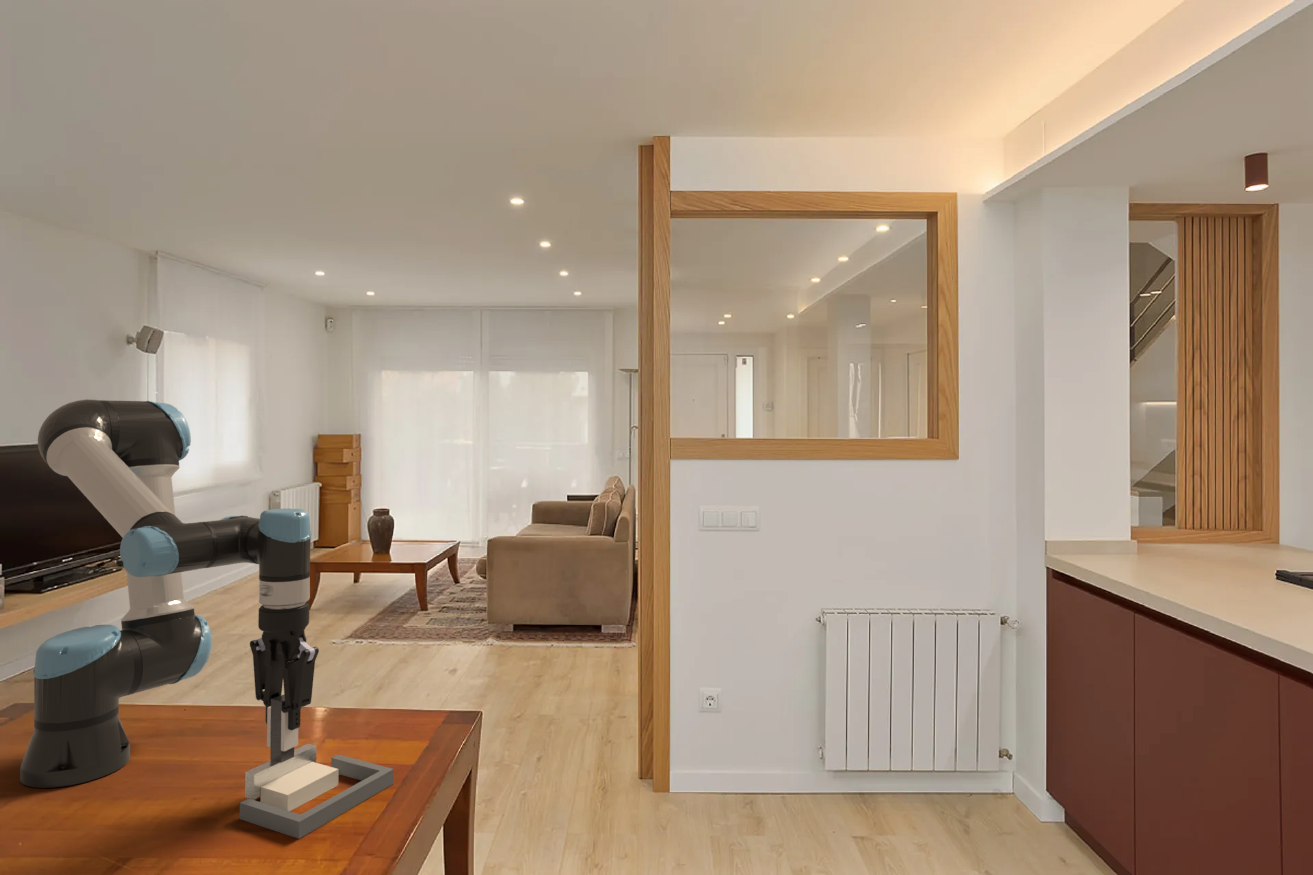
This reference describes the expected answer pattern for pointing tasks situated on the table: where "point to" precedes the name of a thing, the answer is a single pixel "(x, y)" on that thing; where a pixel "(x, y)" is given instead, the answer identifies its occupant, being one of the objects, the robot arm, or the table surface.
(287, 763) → the grey inverted t block
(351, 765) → the frame
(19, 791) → the table surface
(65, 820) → the table surface
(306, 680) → the robot arm
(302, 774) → the cream tile
